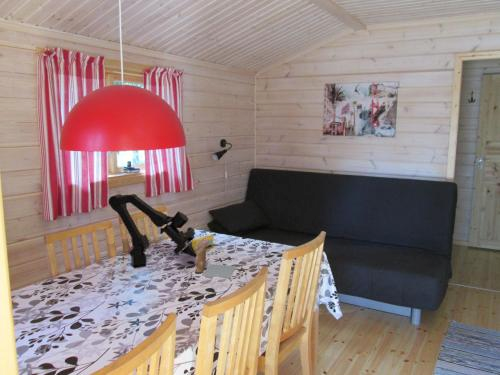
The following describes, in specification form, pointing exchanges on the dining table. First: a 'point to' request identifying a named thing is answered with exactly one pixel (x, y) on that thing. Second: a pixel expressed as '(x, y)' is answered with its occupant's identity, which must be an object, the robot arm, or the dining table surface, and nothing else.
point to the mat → (219, 270)
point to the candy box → (203, 243)
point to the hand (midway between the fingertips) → (196, 256)
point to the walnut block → (201, 260)
